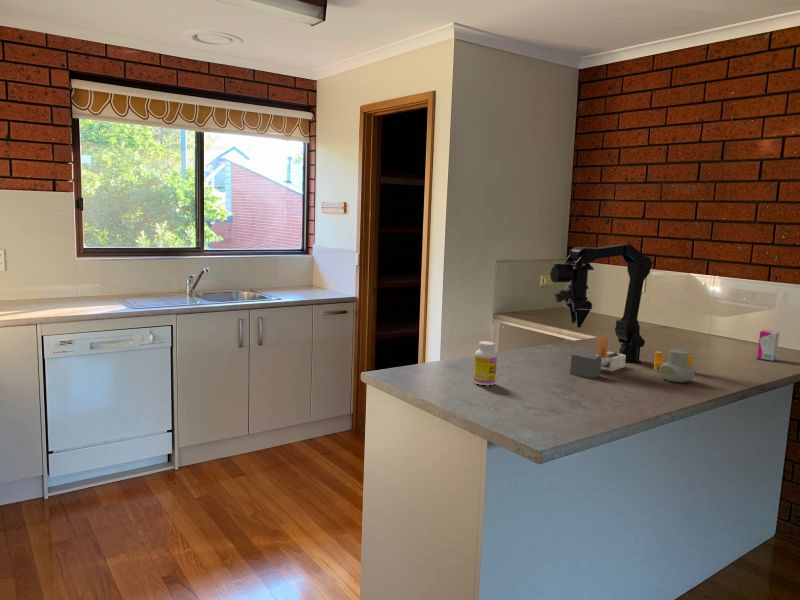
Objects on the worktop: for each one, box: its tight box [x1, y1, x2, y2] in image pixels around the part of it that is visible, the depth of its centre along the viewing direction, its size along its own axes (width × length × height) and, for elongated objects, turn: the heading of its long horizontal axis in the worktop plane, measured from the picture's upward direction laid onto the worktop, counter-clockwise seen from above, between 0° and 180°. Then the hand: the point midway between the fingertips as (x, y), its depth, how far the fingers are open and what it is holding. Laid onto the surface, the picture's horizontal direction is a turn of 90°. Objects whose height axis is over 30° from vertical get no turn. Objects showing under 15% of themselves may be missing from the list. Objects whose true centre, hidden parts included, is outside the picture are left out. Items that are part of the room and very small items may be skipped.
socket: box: [569, 352, 602, 380], centre depth 211 cm, size 6×8×7 cm
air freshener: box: [658, 349, 696, 384], centre depth 209 cm, size 11×8×10 cm
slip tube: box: [597, 336, 619, 367], centre depth 221 cm, size 16×4×10 cm, turn 137°
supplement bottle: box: [473, 340, 498, 387], centre depth 193 cm, size 7×7×13 cm
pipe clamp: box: [653, 350, 693, 372], centre depth 222 cm, size 12×4×6 cm, turn 71°
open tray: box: [594, 351, 626, 372], centre depth 224 cm, size 10×7×4 cm, turn 137°
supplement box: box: [756, 330, 780, 363], centre depth 251 cm, size 6×6×12 cm
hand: (576, 325), depth 228 cm, fingers open, 9 cm apart
